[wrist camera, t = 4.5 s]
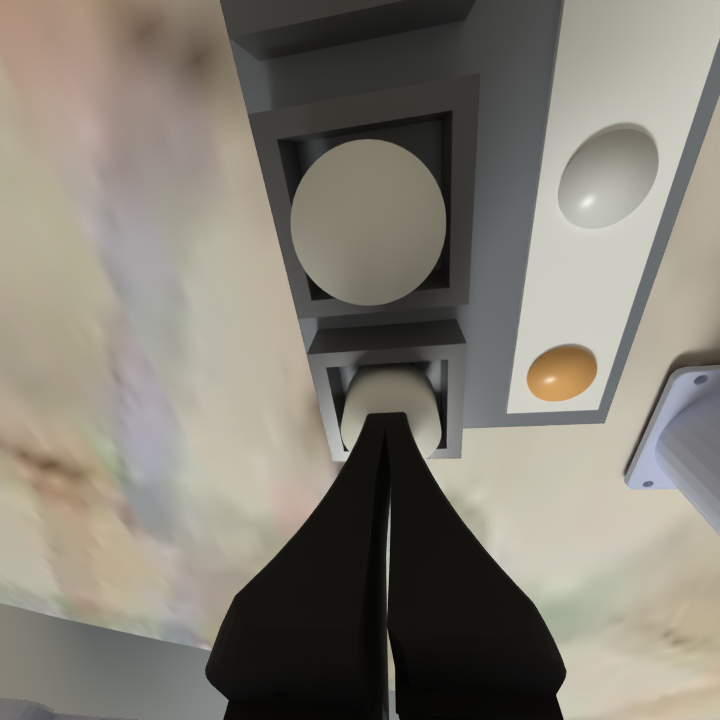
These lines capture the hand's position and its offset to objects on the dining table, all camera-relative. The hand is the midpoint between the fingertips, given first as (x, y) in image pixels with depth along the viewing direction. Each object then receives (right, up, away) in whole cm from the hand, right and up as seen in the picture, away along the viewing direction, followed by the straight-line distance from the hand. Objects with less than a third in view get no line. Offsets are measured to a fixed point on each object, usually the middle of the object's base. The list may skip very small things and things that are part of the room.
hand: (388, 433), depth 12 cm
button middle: (-1, +7, -2) cm, 7 cm away
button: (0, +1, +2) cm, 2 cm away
